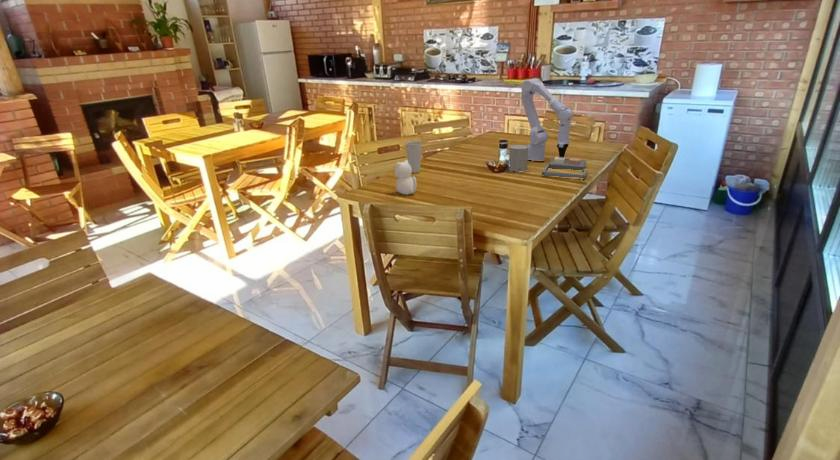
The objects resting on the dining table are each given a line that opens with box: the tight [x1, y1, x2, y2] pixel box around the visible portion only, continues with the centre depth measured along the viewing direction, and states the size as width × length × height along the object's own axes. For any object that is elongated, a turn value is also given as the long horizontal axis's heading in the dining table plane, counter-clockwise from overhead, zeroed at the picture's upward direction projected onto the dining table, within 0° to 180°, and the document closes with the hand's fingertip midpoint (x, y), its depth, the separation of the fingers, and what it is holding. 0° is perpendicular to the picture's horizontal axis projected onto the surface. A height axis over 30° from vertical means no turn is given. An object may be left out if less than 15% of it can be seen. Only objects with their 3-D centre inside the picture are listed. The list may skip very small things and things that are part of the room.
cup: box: [405, 140, 422, 174], centre depth 236 cm, size 8×8×16 cm
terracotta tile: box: [569, 157, 581, 165], centre depth 234 cm, size 5×5×2 cm
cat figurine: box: [394, 159, 418, 196], centre depth 205 cm, size 9×12×15 cm
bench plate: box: [548, 157, 587, 170], centre depth 237 cm, size 17×14×3 cm
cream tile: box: [554, 156, 567, 164], centre depth 237 cm, size 5×5×2 cm
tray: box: [541, 164, 588, 178], centre depth 226 cm, size 20×13×2 cm, turn 66°
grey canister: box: [508, 144, 528, 173], centre depth 234 cm, size 10×10×12 cm
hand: (561, 157), depth 242 cm, fingers closed
